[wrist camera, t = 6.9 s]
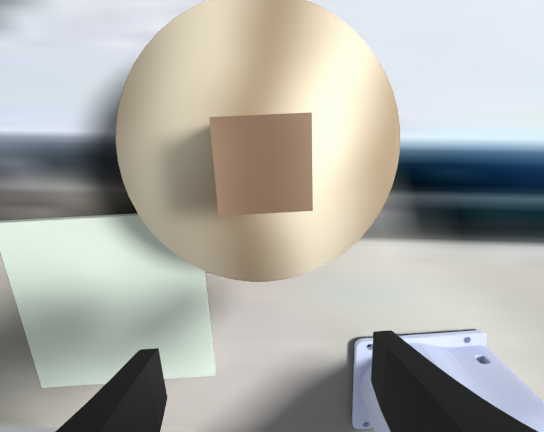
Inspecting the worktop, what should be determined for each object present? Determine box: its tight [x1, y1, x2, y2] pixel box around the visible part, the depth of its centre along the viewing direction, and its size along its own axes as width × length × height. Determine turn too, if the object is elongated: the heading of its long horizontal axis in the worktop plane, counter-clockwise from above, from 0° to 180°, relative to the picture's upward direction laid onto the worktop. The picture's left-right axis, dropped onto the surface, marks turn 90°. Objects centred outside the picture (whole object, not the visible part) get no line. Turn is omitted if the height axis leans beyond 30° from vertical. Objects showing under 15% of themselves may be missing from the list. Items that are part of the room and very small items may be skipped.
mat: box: [0, 213, 216, 388], centre depth 21 cm, size 12×12×1 cm
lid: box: [116, 0, 400, 282], centre depth 12 cm, size 12×12×5 cm
